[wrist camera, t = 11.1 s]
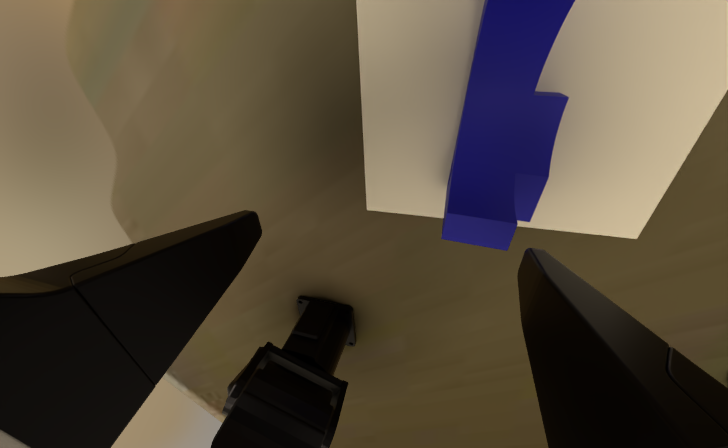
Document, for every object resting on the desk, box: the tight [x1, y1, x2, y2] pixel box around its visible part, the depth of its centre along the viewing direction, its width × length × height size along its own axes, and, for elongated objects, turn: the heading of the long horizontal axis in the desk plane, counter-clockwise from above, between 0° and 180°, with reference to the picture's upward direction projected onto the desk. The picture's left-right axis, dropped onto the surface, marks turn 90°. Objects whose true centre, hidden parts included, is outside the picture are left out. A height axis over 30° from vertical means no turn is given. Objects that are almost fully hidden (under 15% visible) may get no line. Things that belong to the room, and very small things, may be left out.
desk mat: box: [356, 0, 728, 239], centre depth 14 cm, size 17×17×1 cm
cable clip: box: [441, 0, 575, 251], centre depth 12 cm, size 12×4×6 cm, turn 179°
